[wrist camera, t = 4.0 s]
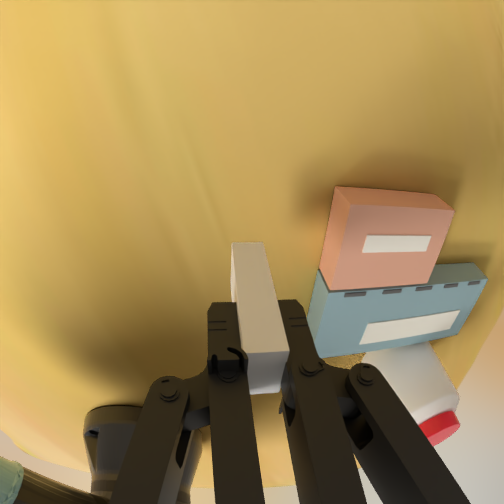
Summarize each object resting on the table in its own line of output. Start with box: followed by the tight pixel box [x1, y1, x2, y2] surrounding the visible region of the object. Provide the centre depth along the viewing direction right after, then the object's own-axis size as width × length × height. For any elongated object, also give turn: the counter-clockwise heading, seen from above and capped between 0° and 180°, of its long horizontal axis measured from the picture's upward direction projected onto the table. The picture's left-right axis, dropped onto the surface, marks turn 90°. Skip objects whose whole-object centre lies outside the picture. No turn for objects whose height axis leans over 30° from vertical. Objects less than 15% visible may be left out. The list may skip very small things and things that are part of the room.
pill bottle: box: [361, 341, 460, 446], centre depth 26 cm, size 8×8×11 cm
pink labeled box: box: [319, 186, 455, 290], centre depth 20 cm, size 8×6×3 cm
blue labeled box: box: [307, 263, 488, 358], centre depth 24 cm, size 16×7×3 cm, turn 86°
